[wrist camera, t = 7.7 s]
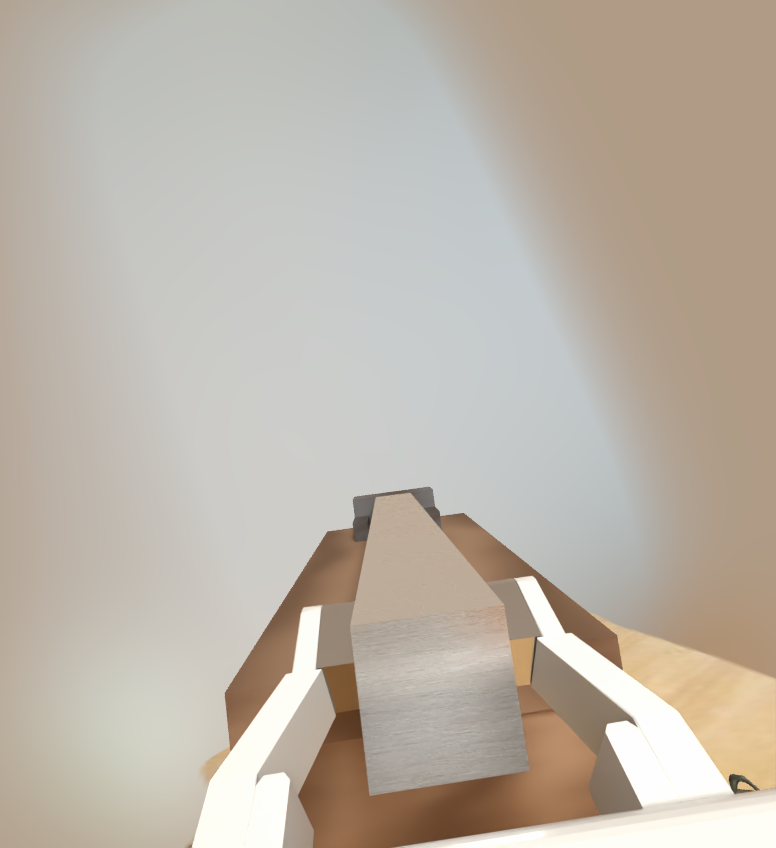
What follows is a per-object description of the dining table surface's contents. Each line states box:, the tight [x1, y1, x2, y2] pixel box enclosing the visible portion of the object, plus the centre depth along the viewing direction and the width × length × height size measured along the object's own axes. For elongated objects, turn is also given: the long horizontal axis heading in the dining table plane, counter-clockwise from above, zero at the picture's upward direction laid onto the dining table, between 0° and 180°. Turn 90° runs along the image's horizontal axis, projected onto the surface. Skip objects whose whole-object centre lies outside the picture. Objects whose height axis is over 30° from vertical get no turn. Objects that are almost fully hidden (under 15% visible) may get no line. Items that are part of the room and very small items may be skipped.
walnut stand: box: [225, 487, 623, 848], centre depth 23 cm, size 13×23×29 cm, turn 1°
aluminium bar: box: [350, 493, 530, 796], centre depth 19 cm, size 3×25×3 cm, turn 1°
